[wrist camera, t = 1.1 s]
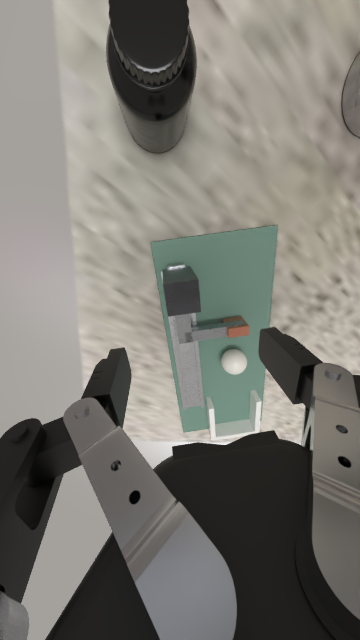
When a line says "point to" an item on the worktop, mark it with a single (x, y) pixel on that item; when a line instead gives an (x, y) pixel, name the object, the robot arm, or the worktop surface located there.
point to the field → (224, 313)
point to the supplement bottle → (152, 68)
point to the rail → (187, 366)
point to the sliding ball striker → (194, 307)
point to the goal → (235, 427)
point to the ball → (234, 361)
